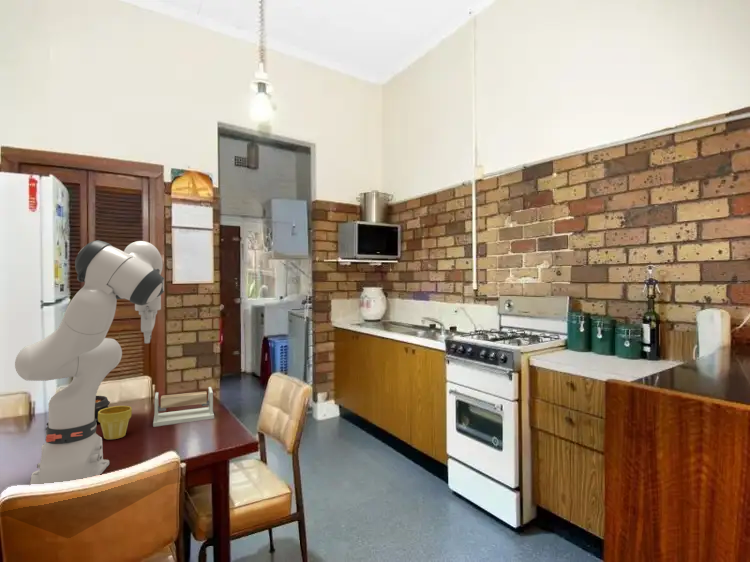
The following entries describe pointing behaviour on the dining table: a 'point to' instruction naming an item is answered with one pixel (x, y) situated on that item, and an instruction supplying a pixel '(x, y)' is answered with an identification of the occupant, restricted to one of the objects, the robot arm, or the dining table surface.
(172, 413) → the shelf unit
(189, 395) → the pine batten
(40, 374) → the robot arm
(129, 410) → the plant pot
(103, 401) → the casserole
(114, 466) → the dining table surface
